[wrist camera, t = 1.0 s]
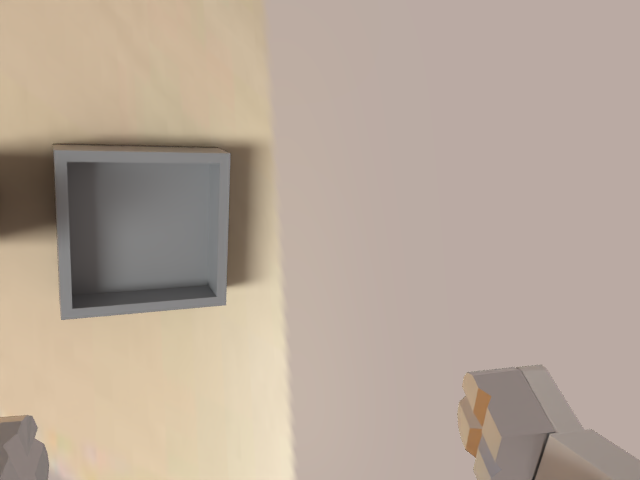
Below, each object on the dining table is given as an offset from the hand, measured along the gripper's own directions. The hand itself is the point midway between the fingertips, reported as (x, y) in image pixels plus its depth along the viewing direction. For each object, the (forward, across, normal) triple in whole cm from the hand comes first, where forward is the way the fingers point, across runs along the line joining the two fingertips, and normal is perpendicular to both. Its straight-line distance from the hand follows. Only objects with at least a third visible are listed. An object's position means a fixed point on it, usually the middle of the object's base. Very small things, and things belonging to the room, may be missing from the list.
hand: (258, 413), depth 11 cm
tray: (+35, +9, +17) cm, 40 cm away
